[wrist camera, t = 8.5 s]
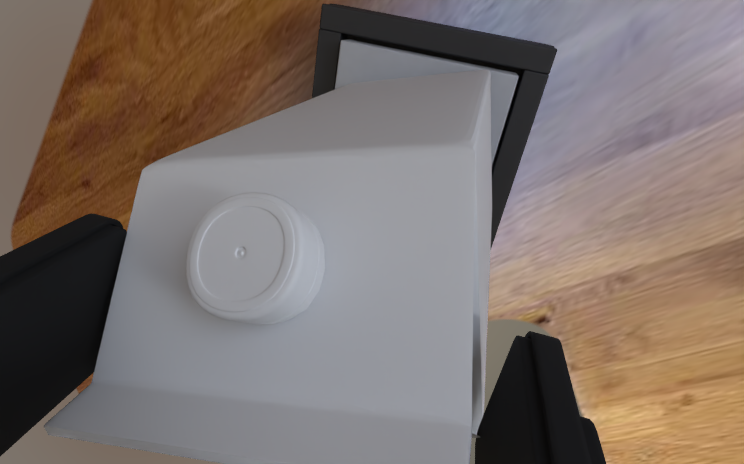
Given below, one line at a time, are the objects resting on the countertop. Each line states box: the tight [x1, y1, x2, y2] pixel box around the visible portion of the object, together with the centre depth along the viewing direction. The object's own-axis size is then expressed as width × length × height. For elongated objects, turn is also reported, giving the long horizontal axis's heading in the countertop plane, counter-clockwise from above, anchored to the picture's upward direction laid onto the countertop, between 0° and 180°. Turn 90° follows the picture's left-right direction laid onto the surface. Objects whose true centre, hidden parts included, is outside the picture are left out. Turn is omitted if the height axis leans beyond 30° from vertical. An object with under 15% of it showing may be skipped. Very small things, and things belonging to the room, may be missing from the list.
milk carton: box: [44, 70, 492, 464], centre depth 15 cm, size 7×7×19 cm
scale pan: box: [335, 39, 519, 163], centre depth 25 cm, size 9×9×2 cm
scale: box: [312, 4, 557, 247], centre depth 26 cm, size 12×12×4 cm
